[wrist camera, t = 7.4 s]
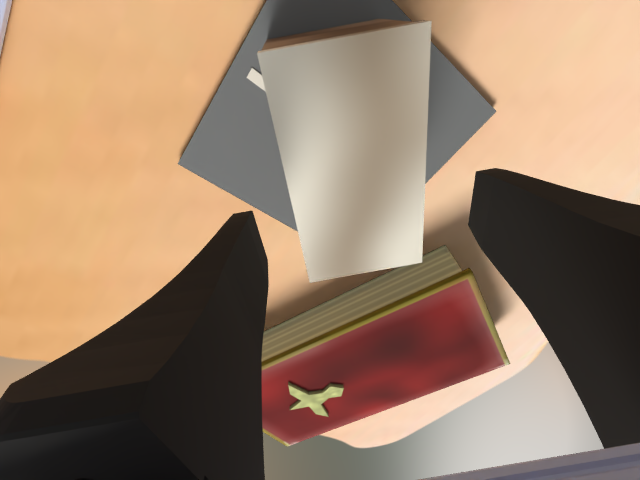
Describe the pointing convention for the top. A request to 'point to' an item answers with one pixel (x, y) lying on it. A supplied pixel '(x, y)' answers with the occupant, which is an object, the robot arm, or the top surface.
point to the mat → (256, 121)
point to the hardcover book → (376, 348)
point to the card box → (353, 141)
